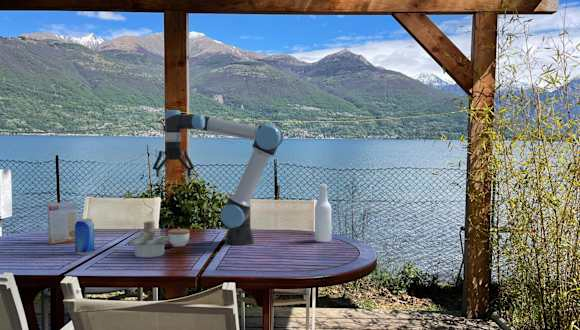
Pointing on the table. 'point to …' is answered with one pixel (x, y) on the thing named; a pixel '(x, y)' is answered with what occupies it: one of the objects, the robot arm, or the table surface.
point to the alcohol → (323, 216)
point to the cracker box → (62, 222)
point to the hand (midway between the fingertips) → (173, 183)
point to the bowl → (149, 250)
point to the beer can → (84, 237)
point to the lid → (149, 236)
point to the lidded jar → (178, 237)
